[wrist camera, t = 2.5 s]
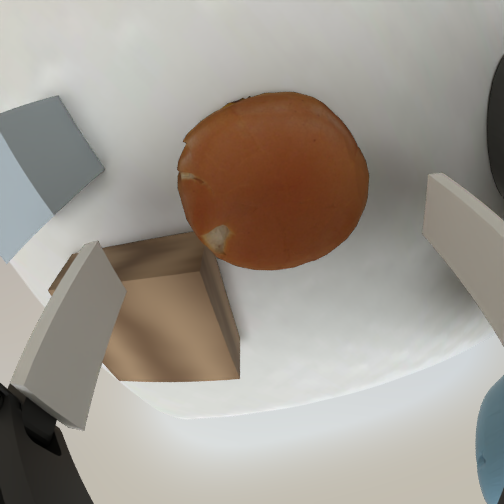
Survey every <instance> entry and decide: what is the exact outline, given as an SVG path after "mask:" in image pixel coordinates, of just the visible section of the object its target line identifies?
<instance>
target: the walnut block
mask: <svg viewBox="0 0 504 504" xmlns="http://www.w3.org/2000/svg"><path fill="white" fill-rule="evenodd" d="M102 249H103V251H104V253H105V254H106V256H107V258H108V260H109V262H110V263H111V265H112V267H113V269H114V271H115V272H116V274H117V276H118V277H119V279H120V281H121V282H122V284H123V286H124V287H125V289H126V291H127V292H126V295H125V297H124V300H123V303H122V305H121V308H120V311H119V314H118V316H117V319H116V322H115V325H114V328H113V331H112V334H111V337H110V340H109V343H108V346H107V349H106V352H105V355H104V358H103V362H102V363H103V364H104V365H105V366H106V367H107V368H108V369H109V370H110V372H111V373H112V374H113V375H114V376H115V377H116V378H117V379H118V380H119V381H138V382H193V381H216V380H231V379H240V337H239V334H238V330H237V327H236V324H235V321H234V317H233V314H232V311H231V308H230V304H229V301H228V298H227V294H226V291H225V288H224V284H223V281H222V277H221V274H220V270H219V267H218V264H217V260H216V257H215V255H214V254H213V253H212V251H211V250H210V249H209V248H208V247H207V246H205V245H204V244H203V243H202V242H201V241H200V239H199V238H198V237H197V236H196V234H195V233H194V232H188V233H182V234H176V235H171V236H165V237H159V238H154V239H148V240H143V241H137V242H132V243H126V244H121V245H116V246H111V247H105V248H102ZM77 255H78V253H75V254H72V255H71V257H70V258H69V260H68V261H67V263H66V264H65V265H64V267H63V268H62V270H61V271H60V273H59V274H58V276H57V277H56V279H55V280H54V282H53V283H52V285H51V287H50V288H49V290H48V291H49V293H50V294H51V296H52V295H53V293H54V292H55V290H56V288H57V286H58V285H59V283H60V281H61V280H62V278H63V277H64V275H65V273H66V272H67V270H68V269H69V267H70V265H71V264H72V262H73V261H74V259H75V258H76V256H77Z"/></svg>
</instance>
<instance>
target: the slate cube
mask: <svg viewBox="0 0 504 504" xmlns="http://www.w3.org/2000/svg"><path fill="white" fill-rule="evenodd" d="M104 170H105V168H104V167H103V165H102V164H101V163H100V161H99V160H98V158H97V157H96V155H95V154H94V152H93V151H92V149H91V148H90V146H89V144H88V143H87V141H86V140H85V138H84V137H83V135H82V134H81V132H80V130H79V129H78V127H77V126H76V124H75V123H74V121H73V119H72V118H71V116H70V114H69V113H68V111H67V110H66V108H65V106H64V105H63V103H62V101H61V100H60V98H59V96H54V97H50V98H47V99H43V100H39V101H36V102H33V103H29V104H26V105H23V106H20V107H17V108H14V109H11V110H8V111H6V112H3V113H0V256H1V257H2V258H3V260H4V261H5V262H6V263H8V262H9V261H10V260H11V259H12V258H13V257H14V256H15V254H16V253H17V252H18V251H19V250H20V249H21V248H22V247H23V246H24V245H25V244H26V243H27V242H28V241H29V240H30V239H31V238H32V237H33V236H34V235H35V234H36V233H37V232H38V231H39V230H40V229H41V228H42V227H43V226H44V225H45V224H46V223H47V222H48V221H49V220H50V219H51V218H52V217H53V216H54V215H55V214H56V213H57V212H58V211H59V210H60V209H61V208H62V207H63V206H65V205H66V204H67V203H68V202H69V201H70V200H71V199H72V198H73V197H74V196H75V195H76V194H77V193H78V192H79V191H81V190H82V189H83V188H84V187H85V186H86V185H87V184H88V183H90V182H91V181H92V180H93V179H94V178H95V177H96V176H98V175H99V174H100V173H101V172H102V171H104Z"/></svg>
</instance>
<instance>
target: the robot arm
mask: <svg viewBox="0 0 504 504" xmlns="http://www.w3.org/2000/svg"><path fill="white" fill-rule="evenodd" d="M488 149H489V158H490V164H491V169H492V174H493V177H494V180H495V183H496V186H497V188H498V190H499V192H500V194H501V195H502V196H503V198H504V57H503V59H502V60H501V62H500V64H499V66H498V69H497V71H496V74H495V78H494V81H493V85H492V90H491V96H490V103H489V113H488ZM422 234H423V235H424V237H425V238H426V239H427V240H428V241H429V242H430V244H431V245H432V246H433V247H434V248H435V250H436V251H437V252H438V253H439V254H440V256H441V257H442V258H443V259H444V261H445V262H446V263H447V264H448V266H449V267H450V268H451V269H452V271H453V272H454V273H455V275H456V276H457V277H458V278H459V280H460V281H461V283H462V284H463V285H464V287H465V288H466V289H467V291H468V292H469V293H470V295H471V296H472V298H473V299H474V301H475V302H476V303H477V305H478V306H479V308H480V309H481V311H482V312H483V314H484V315H485V317H486V318H487V320H488V322H489V323H490V325H491V326H492V328H493V330H494V331H495V333H496V334H497V336H498V338H499V339H500V341H501V343H502V345H503V346H504V220H502V219H501V218H500V217H499V216H498V215H497V214H496V213H494V212H493V211H492V210H491V209H490V208H488V207H487V206H486V205H485V204H484V203H482V202H481V201H480V200H479V199H477V198H476V197H475V196H473V195H472V194H471V193H470V192H468V191H467V190H466V189H464V188H463V187H462V186H460V185H459V184H458V183H456V182H455V181H453V180H452V179H451V178H449V177H448V176H446V175H445V174H443V173H434V174H428V180H427V193H426V204H425V213H424V221H423V229H422ZM126 292H127V291H126V289H125V287H124V286H123V284H122V282H121V281H120V279H119V277H118V276H117V274H116V272H115V271H114V269H113V267H112V265H111V263H110V262H109V260H108V258H107V256H106V254H105V253H104V251H103V249H102V247H101V245H100V243H99V241H95V242H92V243H88V244H85V245H84V246H83V247H82V249H81V250H80V252H79V253H78V255H77V256H76V258H75V259H74V261H73V262H72V264H71V265H70V267H69V269H68V270H67V272H66V273H65V275H64V277H63V278H62V280H61V281H60V283H59V285H58V286H57V288H56V290H55V292H54V293H53V295H52V297H51V298H50V300H49V302H48V304H47V306H46V307H45V309H44V311H43V313H42V315H41V317H40V319H39V320H38V322H37V325H36V326H35V328H34V330H33V332H32V334H31V336H30V338H29V340H28V342H27V345H26V347H25V349H24V351H23V353H22V355H21V358H20V360H19V362H18V365H17V367H16V369H15V372H14V374H13V376H12V379H11V381H10V385H9V387H8V389H7V388H6V387H4V386H3V385H2V384H1V383H0V504H94V503H93V501H92V500H91V498H90V496H89V494H88V492H87V490H86V488H85V486H84V484H83V482H82V480H81V478H80V476H79V473H78V471H77V469H76V467H75V464H74V462H73V460H72V458H71V455H70V453H69V450H68V448H67V445H66V442H65V440H64V437H63V434H62V432H61V430H60V428H58V427H57V426H56V421H57V420H58V421H59V422H61V423H62V424H64V425H65V426H67V427H68V428H72V429H78V430H83V431H84V430H85V426H86V421H87V417H88V413H89V408H90V404H91V401H92V397H93V393H94V389H95V386H96V382H97V378H98V375H99V372H100V368H101V365H102V362H103V358H104V355H105V352H106V349H107V346H108V343H109V340H110V337H111V334H112V331H113V328H114V325H115V322H116V319H117V316H118V314H119V311H120V308H121V305H122V303H123V300H124V297H125V295H126ZM476 460H477V469H478V471H477V472H478V477H479V483H480V487H481V490H482V493H483V496H484V499H485V501H486V502H487V504H504V375H503V377H501V378H500V379H499V380H498V381H497V382H496V383H495V384H494V385H493V386H492V387H491V389H490V390H489V391H488V393H487V394H486V396H485V398H484V400H483V402H482V405H481V408H480V411H479V415H478V421H477V428H476Z"/></svg>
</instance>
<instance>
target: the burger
mask: <svg viewBox="0 0 504 504" xmlns="http://www.w3.org/2000/svg"><path fill="white" fill-rule="evenodd" d="M183 142H185V143H186V145H185V147H184V150H183V152H182V154H181V156H180V158H179V161H178V167H177V170H178V171H179V174H178V191H179V194H180V198H181V201H182V205H183V209H184V212H185V216H186V219H187V221H188V222H189V224H190V226H191V227H192V229H193V231H194V233H195V234H196V236H197V237H198V238H199V239H200V241H201V242H202V243H203V244H204V245H205V246H207V247H208V248H209V249H210V250H211V251H212V253H213V254H214V255H215V256H216V257H217V258H219V259H222V260H224V261H226V262H228V263H230V264H232V265H235V266H239V267H243V268H248V269H253V270H280V269H287V268H293V267H296V266H299V265H302V264H304V263H307V262H311V261H314V260H317V259H319V258H321V257H323V256H325V255H327V254H328V253H330V252H331V251H332V250H334V249H335V248H336V247H337V246H339V245H340V244H341V243H342V242H343V241H345V240H346V239H347V238H348V237H349V235H350V234H351V233H352V231H353V230H354V228H355V227H356V226H357V224H358V221H359V219H360V217H361V215H362V213H363V211H364V208H365V206H366V202H367V198H368V186H369V172H368V168H367V164H366V160H365V158H364V156H363V154H362V152H361V150H360V148H359V147H357V143H356V141H355V139H354V138H353V136H352V134H351V132H350V131H349V129H348V128H347V127H346V125H345V124H344V123H343V122H342V120H341V119H340V118H339V117H338V116H337V115H335V114H334V113H333V112H332V111H331V110H330V109H329V108H328V107H327V106H326V105H325V104H324V103H322V102H321V101H319V100H317V99H316V98H314V97H311V96H307V95H304V94H300V93H296V92H278V93H263V94H260V95H257V96H254V97H250V96H249V97H248V98H247V99H244V98H242V99H240V100H238V101H234V102H231V103H227V105H225V106H224V107H223V108H221V109H220V110H218V111H216V112H214V113H212V114H211V115H209V116H208V117H206V118H205V119H203V120H202V121H201V122H200V123H199V124H197V125H196V126H195V127H194V128H193V129H192V130H191V131H190V132H189V133H188V134H187V135H186V137H185V138H184V140H183Z"/></svg>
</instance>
